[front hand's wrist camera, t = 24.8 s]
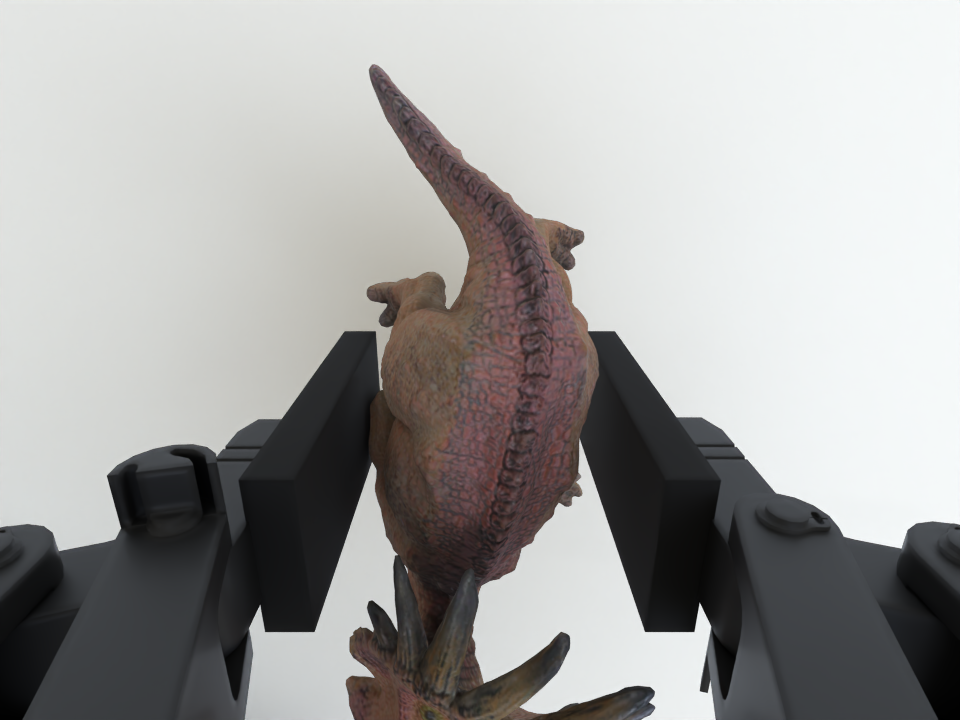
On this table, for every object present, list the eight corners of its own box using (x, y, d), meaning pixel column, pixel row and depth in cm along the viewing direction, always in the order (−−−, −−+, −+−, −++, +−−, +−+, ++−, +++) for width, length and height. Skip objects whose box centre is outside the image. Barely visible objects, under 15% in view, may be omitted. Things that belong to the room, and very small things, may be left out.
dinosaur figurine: (573, 573, 17) (664, 995, 9) (383, 570, 17) (287, 991, 9) (619, 82, 13) (922, -51, 4) (354, 78, 13) (77, -65, 4)
